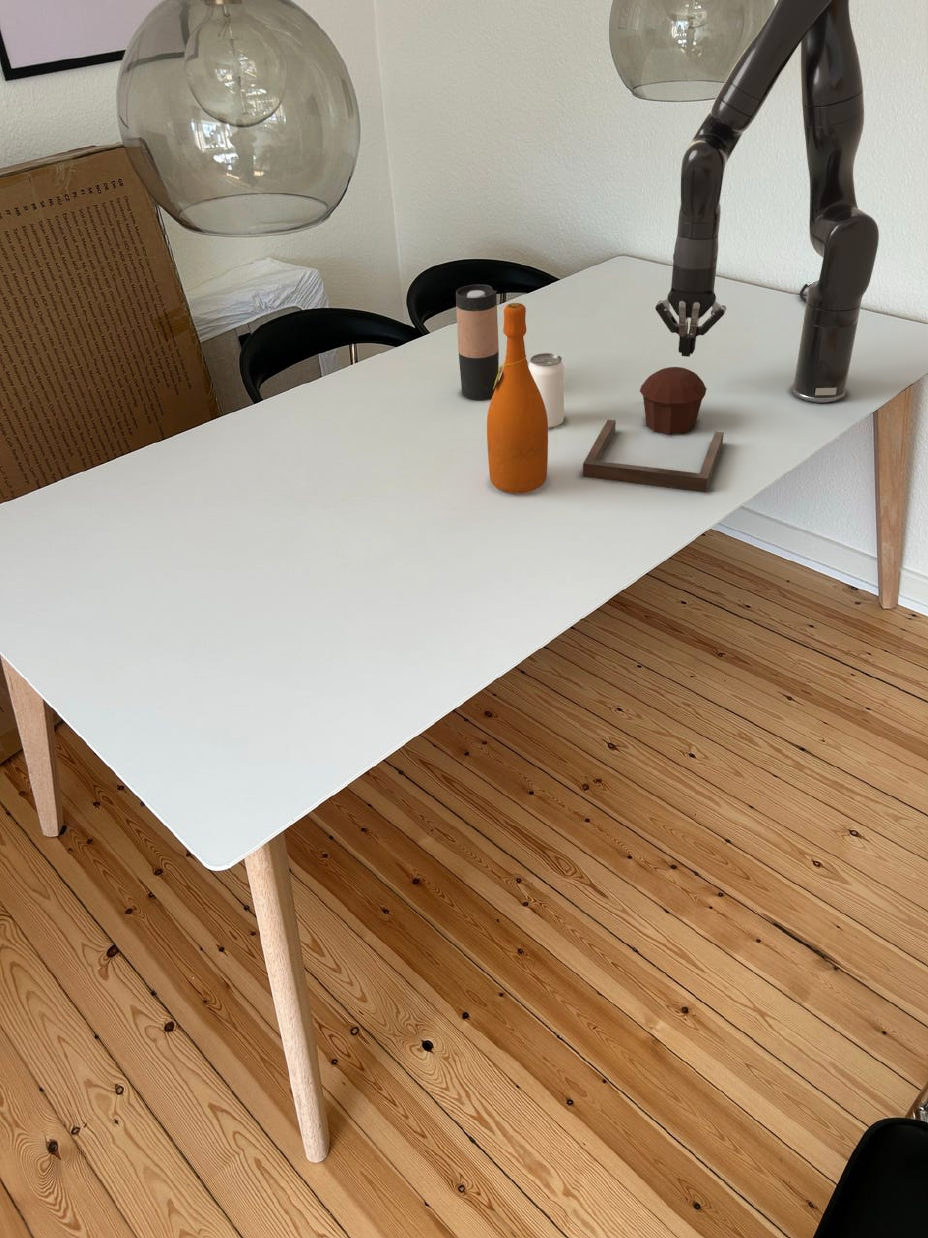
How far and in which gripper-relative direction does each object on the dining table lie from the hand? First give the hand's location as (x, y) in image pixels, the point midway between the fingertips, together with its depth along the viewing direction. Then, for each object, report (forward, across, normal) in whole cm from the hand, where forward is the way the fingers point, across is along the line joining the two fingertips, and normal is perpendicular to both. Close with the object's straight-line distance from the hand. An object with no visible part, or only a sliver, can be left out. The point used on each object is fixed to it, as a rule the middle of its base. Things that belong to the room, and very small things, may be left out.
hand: (686, 354), depth 189 cm
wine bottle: (+8, +20, +40) cm, 46 cm away
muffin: (+8, 0, +13) cm, 15 cm away
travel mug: (+8, +38, +8) cm, 40 cm away
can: (+8, +22, +18) cm, 29 cm away
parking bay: (+8, 0, +27) cm, 28 cm away
